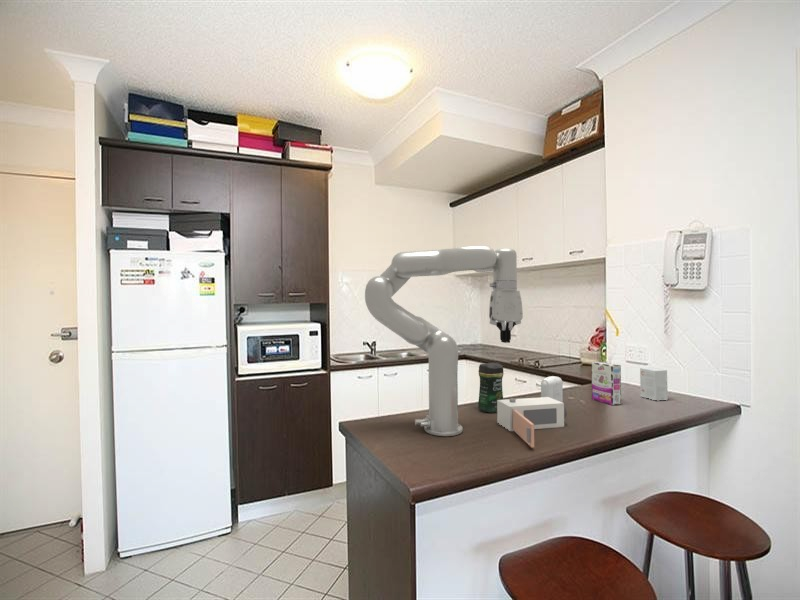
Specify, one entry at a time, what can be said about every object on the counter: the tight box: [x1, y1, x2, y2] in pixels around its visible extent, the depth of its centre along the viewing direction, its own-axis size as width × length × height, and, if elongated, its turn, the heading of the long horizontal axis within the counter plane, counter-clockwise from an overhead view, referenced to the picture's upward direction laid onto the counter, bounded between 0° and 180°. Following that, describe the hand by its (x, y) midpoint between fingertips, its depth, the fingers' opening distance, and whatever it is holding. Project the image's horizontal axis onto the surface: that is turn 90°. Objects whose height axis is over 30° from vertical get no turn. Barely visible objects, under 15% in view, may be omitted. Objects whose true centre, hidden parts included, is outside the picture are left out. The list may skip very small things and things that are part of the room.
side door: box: [512, 409, 535, 448], centre depth 117 cm, size 16×2×6 cm, turn 2°
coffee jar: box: [477, 362, 505, 413], centre depth 150 cm, size 10×8×19 cm
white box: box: [496, 396, 567, 432], centre depth 132 cm, size 22×9×9 cm, turn 102°
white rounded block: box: [540, 375, 564, 403], centre depth 155 cm, size 10×4×12 cm, turn 123°
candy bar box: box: [591, 361, 622, 406], centre depth 162 cm, size 11×5×16 cm, turn 17°
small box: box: [639, 367, 669, 401], centre depth 167 cm, size 8×6×13 cm
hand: (505, 342), depth 126 cm, fingers closed
